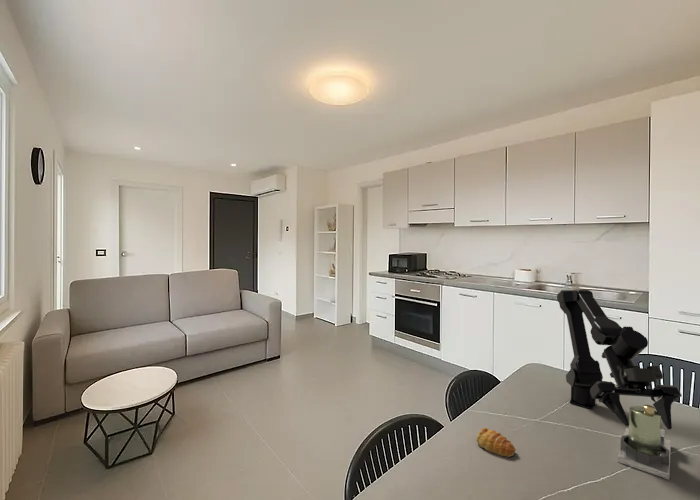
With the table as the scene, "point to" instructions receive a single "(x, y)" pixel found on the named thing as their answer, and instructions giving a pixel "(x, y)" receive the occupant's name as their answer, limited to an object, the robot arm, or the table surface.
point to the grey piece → (646, 457)
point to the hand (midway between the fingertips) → (648, 427)
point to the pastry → (495, 442)
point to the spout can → (645, 429)
